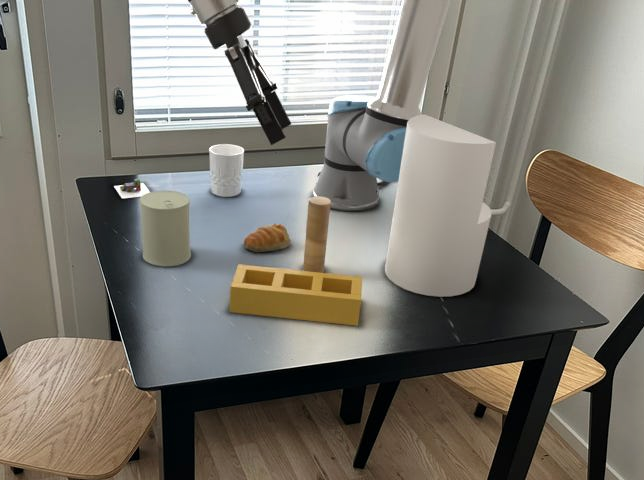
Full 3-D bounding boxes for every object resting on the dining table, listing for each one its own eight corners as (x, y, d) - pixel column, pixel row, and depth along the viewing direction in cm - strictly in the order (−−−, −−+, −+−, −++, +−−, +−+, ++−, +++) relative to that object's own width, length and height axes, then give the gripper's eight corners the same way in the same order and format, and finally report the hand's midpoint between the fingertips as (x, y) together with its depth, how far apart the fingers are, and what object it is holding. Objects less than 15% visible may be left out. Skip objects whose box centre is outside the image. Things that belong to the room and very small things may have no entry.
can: (150, 269, 134) (146, 209, 127) (137, 249, 140) (133, 190, 134) (197, 262, 137) (196, 203, 130) (182, 243, 144) (181, 185, 137)
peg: (315, 263, 139) (322, 194, 131) (328, 272, 136) (335, 202, 129) (298, 268, 137) (304, 198, 129) (310, 276, 135) (317, 206, 127)
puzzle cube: (137, 186, 167) (137, 176, 166) (140, 190, 165) (140, 180, 164) (119, 188, 166) (119, 178, 165) (122, 192, 164) (122, 182, 162)
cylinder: (426, 304, 128) (457, 149, 112) (366, 265, 140) (386, 119, 124) (495, 284, 136) (532, 136, 120) (432, 248, 148) (459, 109, 132)
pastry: (256, 258, 140) (256, 239, 138) (235, 245, 144) (236, 227, 142) (292, 246, 145) (294, 229, 143) (272, 235, 149) (273, 217, 147)
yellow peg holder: (237, 289, 129) (238, 264, 126) (358, 301, 128) (362, 276, 125) (229, 312, 122) (230, 286, 119) (357, 326, 121) (361, 300, 118)
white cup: (213, 184, 171) (213, 142, 166) (245, 187, 171) (246, 145, 165) (205, 196, 165) (205, 153, 159) (239, 199, 164) (240, 156, 158)
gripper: (214, 25, 131) (270, 131, 139) (187, 32, 109) (255, 158, 117) (250, 3, 129) (304, 113, 136) (230, 5, 107) (296, 136, 114)
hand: (282, 134), depth 127 cm, fingers open, 13 cm apart
